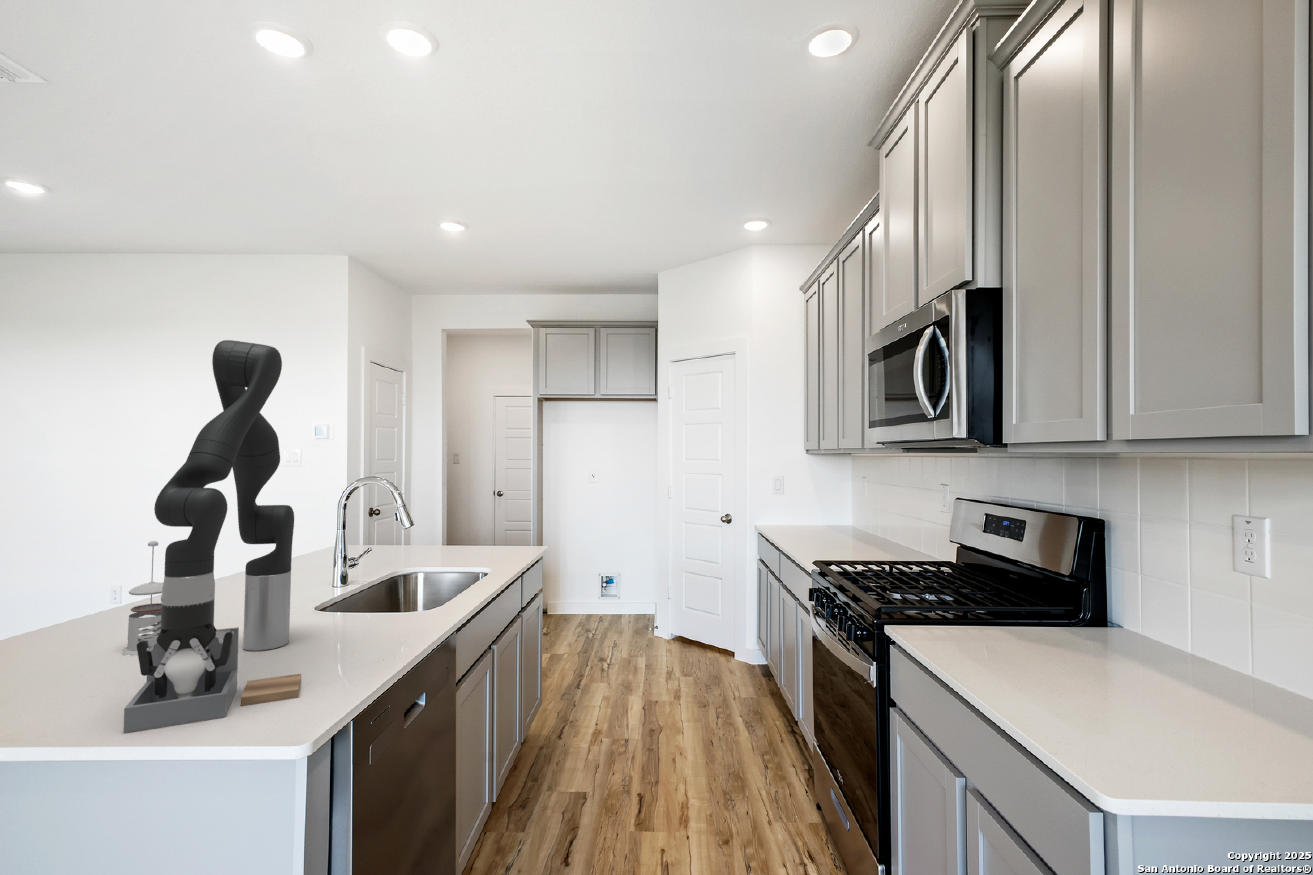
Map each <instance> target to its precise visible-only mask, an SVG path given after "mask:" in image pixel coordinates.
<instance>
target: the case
mask: <svg viewBox="0 0 1313 875" xmlns="http://www.w3.org/2000/svg"><path fill="white" fill-rule="evenodd" d="M239 628H240V627H229V628H221V629H219V628H218V629H217V628H216V630H217V631H228V630H229V629H233V630H234V637H233V641H232V646H231V651H230V656H229V660H228V661H227V663H226V665H224V666H220V667H218V668H217V669H216V683H215V685H214V687H213V688H211V690H210V691H209V692H205V672H206V670H207V669H206V670H205V672H204V673H203V674H202V676H201V677H200V679H199V681H198V685H197V687H196V689H195V694H194V695H195V697H190V698H183V699H176V697H177V696H176V692H175V690H174V686H173V683H172V682H171V681H170V680H169V679H168V678H167V694H166V696H165V698H160V699H159V695H157V696H156V695H155V693H154V691H155V678H154V677H153V676H150V675H146V682H144V684H143V685H142V687H141V688H140V689H138V691H137V692H136V693H135V695H134V696H133V697H132V699H131V700H130V701H128V703H127V704H126V706H125V707H124V710H123V733H122V734H127V733H133V732H139V731H146V730H147V731H148V730H153V729H158V728H159V729H160V728H165V727H171V726H179V725H184V724H190V723H196V722H203V721H210V720H216V719H223V718H226V716H227V713H228V712H229V709H230V706H231V704H232V702H233V699H234V697H235V694H236V692H237V690H238V665H239V663H238V662H239V633H240V629H239ZM158 636H159V635H157V636H149V637H148V639H150V638H155V637H158ZM222 645H223V644H221V643H219V639H218V638H217V637H215V638H214V639H213V640H212V641H211V642H210V644H209V645H208V646H209V647H210V649H211V651H212V654H213V656H214V658H215V659H218V658H220V655H221V650H222ZM151 654H152V660H153V666H159V664H160V662H161V661H162V659H163V657H164V656H165V654H166V652H165V651H164V650H163V648H162V647H161V646H160V645H159V644H158V643H156V644H155V648H154V649H153V650H152V651H151Z"/></svg>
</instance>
